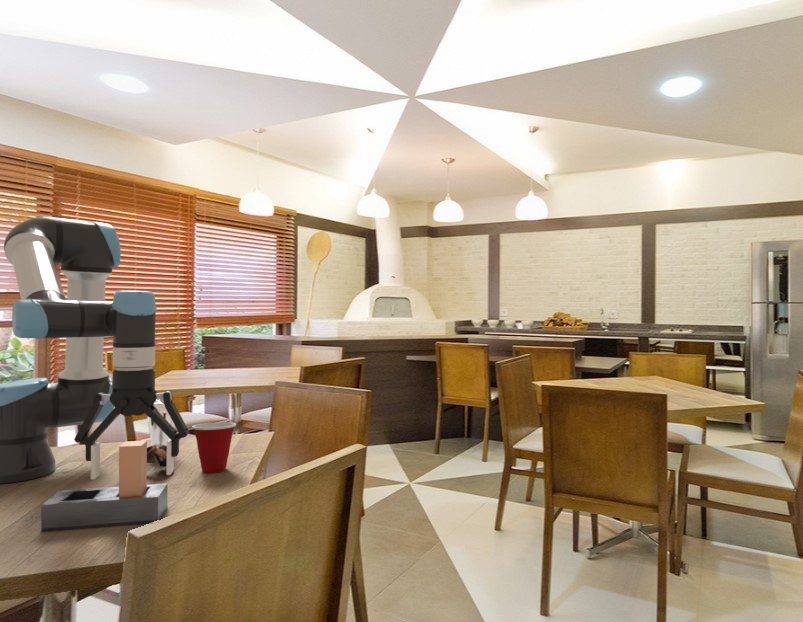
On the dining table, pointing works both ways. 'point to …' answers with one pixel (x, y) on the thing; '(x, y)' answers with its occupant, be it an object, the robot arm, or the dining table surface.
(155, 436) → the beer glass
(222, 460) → the plastic cup
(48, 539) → the dining table surface
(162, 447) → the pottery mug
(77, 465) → the dining table surface
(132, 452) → the terracotta peg
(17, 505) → the dining table surface
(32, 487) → the dining table surface
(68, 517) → the grey peg hole block
